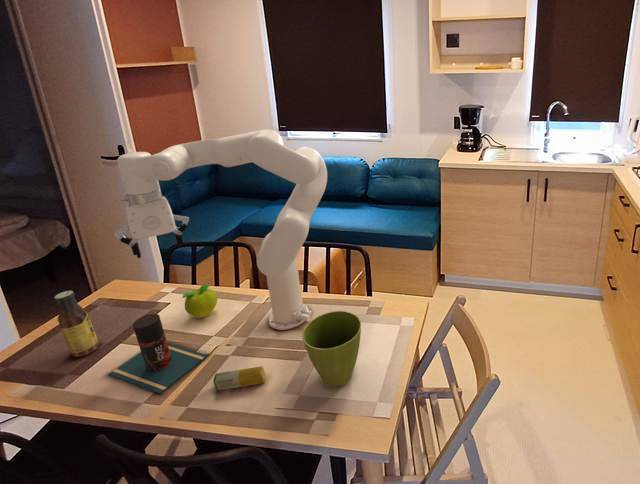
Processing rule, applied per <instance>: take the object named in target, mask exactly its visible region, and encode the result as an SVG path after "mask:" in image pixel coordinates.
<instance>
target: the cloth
mask: <svg viewBox="0 0 640 484" xmlns="http://www.w3.org/2000/svg"><path fill="white" fill-rule="evenodd" d="M167 344H168V347H169V351H170V354H171V358H172V362H171V363H170V364H169V365H168V366H167V367H166V368H164V369H162V370H160V371H157V372H148V371H147V369H146V366H145V362H144V359H143V356H142V353H141V351H140V352H139V353H137V354H136V355H134V356H133V357H132V358H130V359H128V360H126V361H125V362H124V363H122V364H121V365H119V366H118V367H116V368H114V369H113V370H111V371H110V372H109V373H108V376H110V377H113V378H117V379H119V380H122V381H125V382H127V383H129V384H132V385H135V386H137V387H140V388H142V389H145V390H148V391H151V392H153V393H156V394H159V395H161V394H162V393H164V392H165V391H167V389H169V388H170V387H171V386H173V384H175V383H176V382H178V381H179V380H180V379H181V378H182V377H183V376H185V375H186V374H187V373H189V372H190V371H191V370H192V369H193V368H195V367H196V366H197V365H198V364H200V363H201V362H202V361H204V360H205V359H206V358H207V357H208V355H207V354H204V353H201V352H199V351H195V350H192V349H189V348H185V347H182V346H179V345H176V344H173V343H170V342H167Z"/></svg>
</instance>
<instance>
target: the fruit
mask: <svg viewBox="0 0 640 484" xmlns="http://www.w3.org/2000/svg"><path fill="white" fill-rule="evenodd" d="M210 286H211V283H206V284H203V285H201V286H200V288H196V289H194V290H192V291H189V292H185V293H183V295H182V297H181V298H182V299H185V301H184V310H185V311H186V313H187V314H188V315H190V316H192V317H194V318H205V317H207V316H209V315H210V314H212V313H213V311H214V310H215V308H216V306H217V303H218V294H217V293H216V292H215V291H214V290H212V289H209V287H210Z"/></svg>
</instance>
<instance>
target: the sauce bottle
mask: <svg viewBox="0 0 640 484" xmlns="http://www.w3.org/2000/svg"><path fill="white" fill-rule="evenodd" d="M75 296H76V294H75V292H74V291H73V290H65V291H62V292H59V293H57V294H56V295H55V296H54V297H53V299H54V302H55V303H56V304H57V306H58V310H59V314H58V316H57V322H58V324H59V328H60V330H61V333H62V335H63V338H64V340H65V343H66V345H67V347H68V350H69V352H70V353H71V356H72V357H74V358H81V357H84V356H88V355H89V354H91V353H93V352H95V351H96V350H97V349H98V347H99V340H98V337H97V334H96V332H95V330H94V326H93V324H92V322H91V318H90V316H89V313H88V311H86V309H84V308H83V306H81V305H80V304H79V303H78V301H77V300H76V299H77V298H76V297H75Z"/></svg>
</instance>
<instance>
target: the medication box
mask: <svg viewBox="0 0 640 484" xmlns="http://www.w3.org/2000/svg"><path fill="white" fill-rule="evenodd" d="M266 378H267V377H266V372H265V369H264V366H263V365H262V366H256V367H249V368H242V369H237V370H230V371H222V372H216V373H215V374H214V377H213V381H212V382H213V385H214V387H215V390H216V392H218V391H222V390H224V391H225V390H229V389H235V388H242V387H247V386H248V387H249V386H254V385H261V384H265V381H266Z"/></svg>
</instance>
